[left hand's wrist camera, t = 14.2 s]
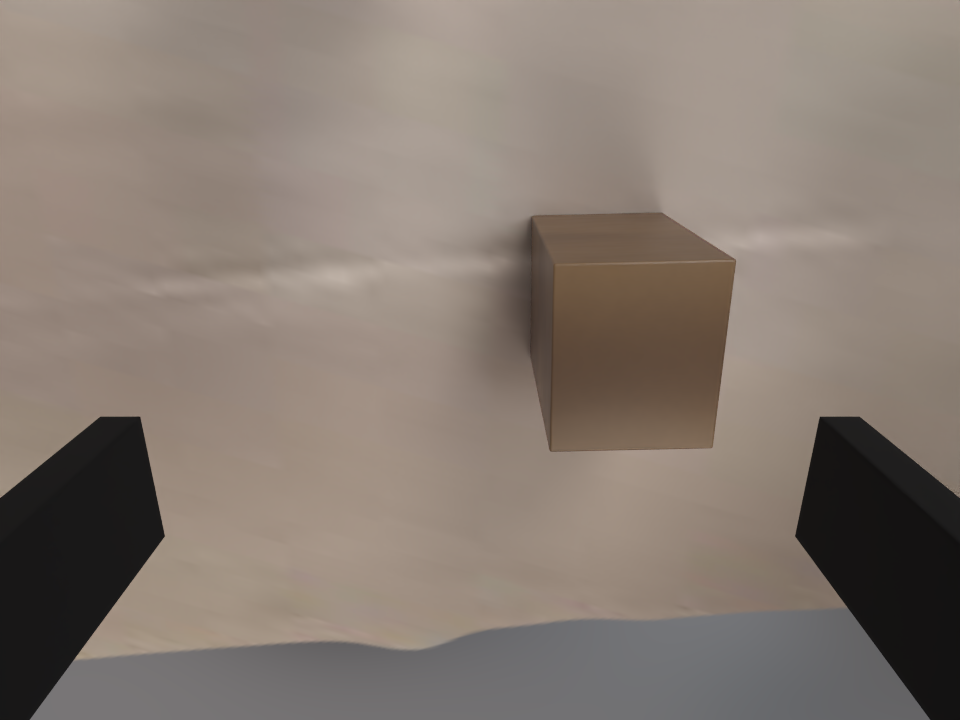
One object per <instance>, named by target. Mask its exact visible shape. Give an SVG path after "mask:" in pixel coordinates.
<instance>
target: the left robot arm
mask: <svg viewBox="0 0 960 720" xmlns="http://www.w3.org/2000/svg"><path fill="white" fill-rule="evenodd" d="M164 537H165V535H164V530H163V525H162V520H161V516H160V511H159V506H158V501H157V496H156V491H155V486H154V482H153V477H152V472H151V467H150V462H149V457H148V453H147V448H146V443H145V438H144V433H143V428H142V423H141V419H140V417H100V418H98V419H97V420H96V421H95V422H93V423H92V424H91V425H90V426H89V427H87V428H86V429H85V430H84V431H82V432H81V433H80V434H79V435H77V436H76V437H75V438H74V439H72V440H71V441H70V442H69V443H68V444H66V445H65V446H64V447H63V448H61V449H60V450H59V451H58V452H56V453H55V454H54V455H53V456H52V457H50V458H49V459H48V460H47V461H45V462H44V463H43V464H42V465H40V466H39V467H38V468H37V469H36V470H34V471H33V472H32V473H31V474H29V475H28V476H27V477H26V478H24V479H23V480H22V481H21V482H20V483H18V484H17V485H16V486H15V487H13V488H12V489H11V490H10V491H8V492H7V493H6V494H5V495H4V496H2V497H1V498H0V720H30V718H31V717H32V716H33V714H34V713H35V712H36V710H37V709H38V708H39V706H40V705H41V703H42V702H43V701H44V699H45V698H46V697H47V695H48V694H49V693H50V691H51V690H52V689H53V687H54V686H55V684H56V683H57V682H58V680H59V679H60V678H61V676H62V675H63V674H64V672H65V671H66V670H67V668H68V667H69V666H70V664H71V663H72V661H73V660H74V659H75V657H76V656H77V655H78V653H79V652H80V651H81V649H82V648H83V647H84V645H85V644H86V642H87V641H88V640H89V638H90V637H91V636H92V634H93V633H94V632H95V630H96V629H97V628H98V626H99V625H100V624H101V622H102V621H103V619H104V618H105V617H106V615H107V614H108V613H109V611H110V610H111V609H112V607H113V606H114V605H115V603H116V602H117V600H118V599H119V598H120V596H121V595H122V594H123V592H124V591H125V590H126V588H127V587H128V586H129V584H130V583H131V581H132V580H133V579H134V577H135V576H136V575H137V573H138V572H139V571H140V569H141V568H142V567H143V565H144V564H145V562H146V561H147V560H148V558H149V557H150V556H151V554H152V553H153V552H154V550H155V549H156V548H157V546H158V545H159V543H160V542H161V541H162V539H163V538H164ZM795 537H796V538H797V539H798V541H799V542H800V543H801V545H802V546H803V548H804V549H805V550H806V552H807V553H808V554H809V556H810V557H811V558H812V560H813V561H814V562H815V564H816V565H817V567H818V568H819V569H820V571H821V572H822V573H823V575H824V576H825V577H826V579H827V580H828V581H829V583H830V584H831V586H832V587H833V588H834V590H835V591H836V592H837V594H838V595H839V596H840V598H841V599H842V600H843V602H844V603H845V605H846V606H847V607H848V609H849V610H850V611H851V613H852V614H853V615H854V617H855V618H856V619H857V621H858V622H859V624H860V625H861V626H862V628H863V629H864V630H865V632H866V633H867V634H868V636H869V637H870V638H871V640H872V641H873V642H874V644H875V645H876V647H877V648H878V649H879V651H880V652H881V653H882V655H883V656H884V657H885V659H886V660H887V661H888V663H889V664H890V666H891V667H892V668H893V670H894V671H895V672H896V674H897V675H898V676H899V678H900V679H901V680H902V682H903V683H904V685H905V686H906V687H907V689H908V690H909V691H910V693H911V694H912V695H913V697H914V698H915V699H916V701H917V702H918V703H919V705H920V706H921V708H922V709H923V710H924V712H925V713H926V714H927V716H928V717H929V718H930V720H960V498H959V497H958V496H956V495H955V494H954V493H953V492H952V491H950V490H949V489H948V488H947V487H945V486H944V485H943V484H942V483H940V482H939V481H938V480H937V479H936V478H934V477H933V476H932V475H931V474H929V473H928V472H927V471H926V470H924V469H923V468H922V467H921V466H920V465H918V464H917V463H916V462H915V461H913V460H912V459H911V458H910V457H908V456H907V455H906V454H905V453H904V452H902V451H901V450H900V449H899V448H897V447H896V446H895V445H894V444H892V443H891V442H890V441H889V440H888V439H886V438H885V437H884V436H883V435H881V434H880V433H879V432H878V431H876V430H875V429H874V428H873V427H871V426H870V425H869V424H868V423H867V422H865V421H864V420H863V419H862V418H860V417H820V419H819V423H818V428H817V433H816V438H815V443H814V448H813V453H812V457H811V462H810V467H809V472H808V477H807V482H806V486H805V491H804V496H803V501H802V506H801V511H800V516H799V520H798V525H797V530H796V535H795Z"/></svg>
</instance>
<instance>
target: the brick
mask: <svg viewBox="0 0 960 720" xmlns="http://www.w3.org/2000/svg"><path fill="white" fill-rule="evenodd" d="M735 265H736V260H735V259H734V258H732V257H731V256H729V255H728V254H726V253H724V252H723V251H721V250H720V249H718V248H717V247H715V246H713V245H712V244H710V243H709V242H707V241H706V240H704V239H702V238H701V237H699V236H698V235H696V234H695V233H693V232H691V231H690V230H688V229H687V228H685V227H684V226H682V225H680V224H679V223H677V222H676V221H674V220H673V219H671V218H669V217H668V216H666V215H665V214H663V213H630V214H587V215H545V216H532V246H531V362H532V367H533V371H534V376H535V381H536V386H537V391H538V396H539V401H540V406H541V411H542V416H543V420H544V425H545V430H546V435H547V440H548V445H549V450H550V451H552V452H556V451H601V450H647V449H693V448H712V447H713V439H714V431H715V423H716V416H717V408H718V400H719V392H720V384H721V376H722V368H723V360H724V352H725V344H726V336H727V328H728V320H729V313H730V305H731V297H732V289H733V281H734V273H735Z"/></svg>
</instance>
